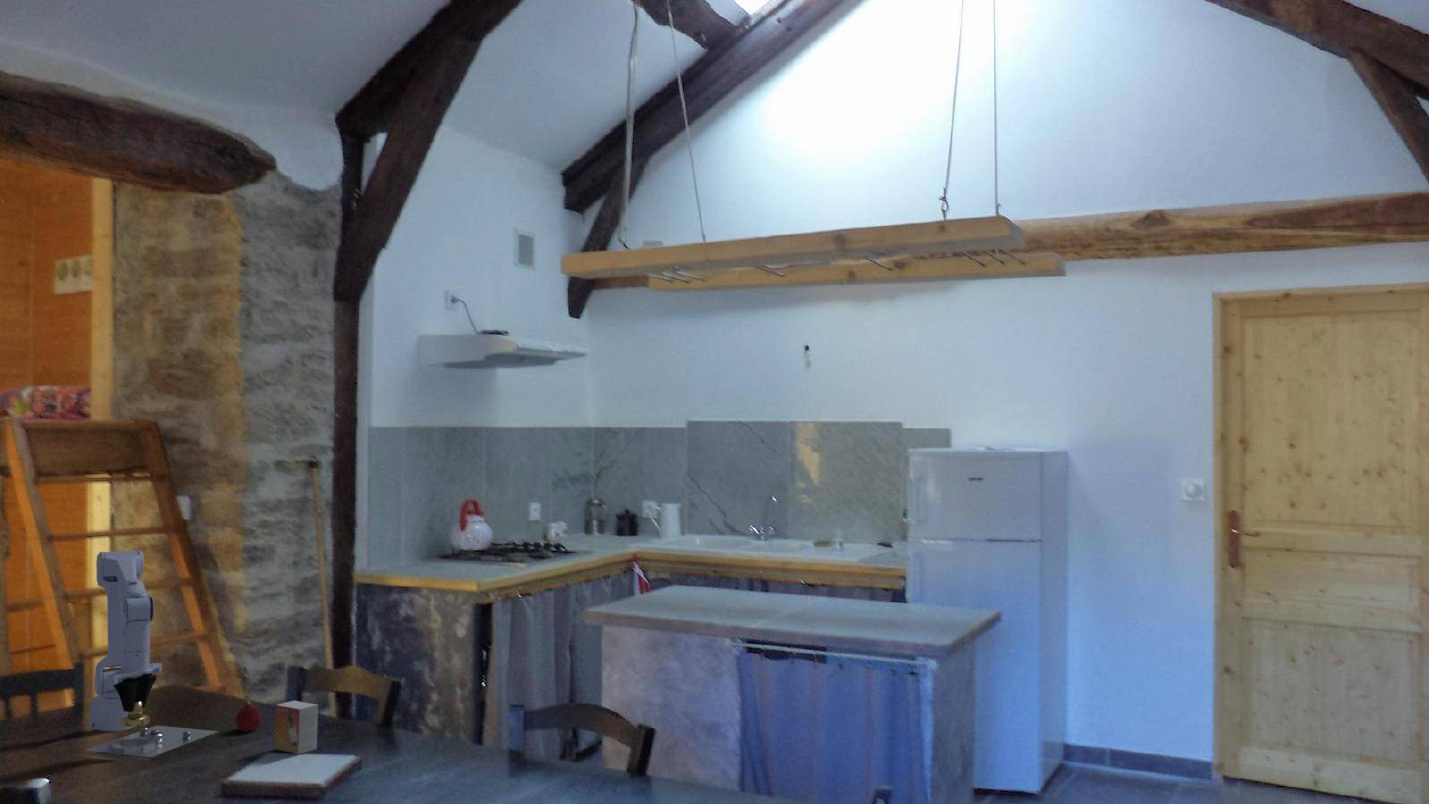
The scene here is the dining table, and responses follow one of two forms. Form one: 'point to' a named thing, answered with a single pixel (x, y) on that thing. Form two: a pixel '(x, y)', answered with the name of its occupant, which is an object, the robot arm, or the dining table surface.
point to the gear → (135, 717)
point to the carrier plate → (149, 742)
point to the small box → (296, 727)
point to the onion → (248, 718)
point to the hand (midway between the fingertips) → (134, 709)
